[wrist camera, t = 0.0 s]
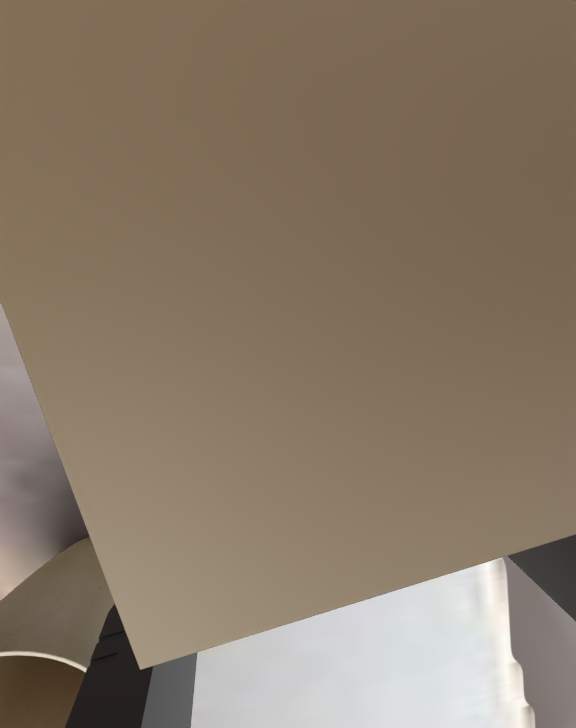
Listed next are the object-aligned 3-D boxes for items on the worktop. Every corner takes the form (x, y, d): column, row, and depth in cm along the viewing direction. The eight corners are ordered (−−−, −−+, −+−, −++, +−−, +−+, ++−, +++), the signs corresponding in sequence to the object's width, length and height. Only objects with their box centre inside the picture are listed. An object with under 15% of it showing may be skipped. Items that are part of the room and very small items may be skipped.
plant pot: (113, 481, 38) (32, 614, 22) (188, 571, 41) (163, 737, 26) (-7, 552, 37) (-175, 739, 22) (80, 637, 41) (-9, 845, 26)
